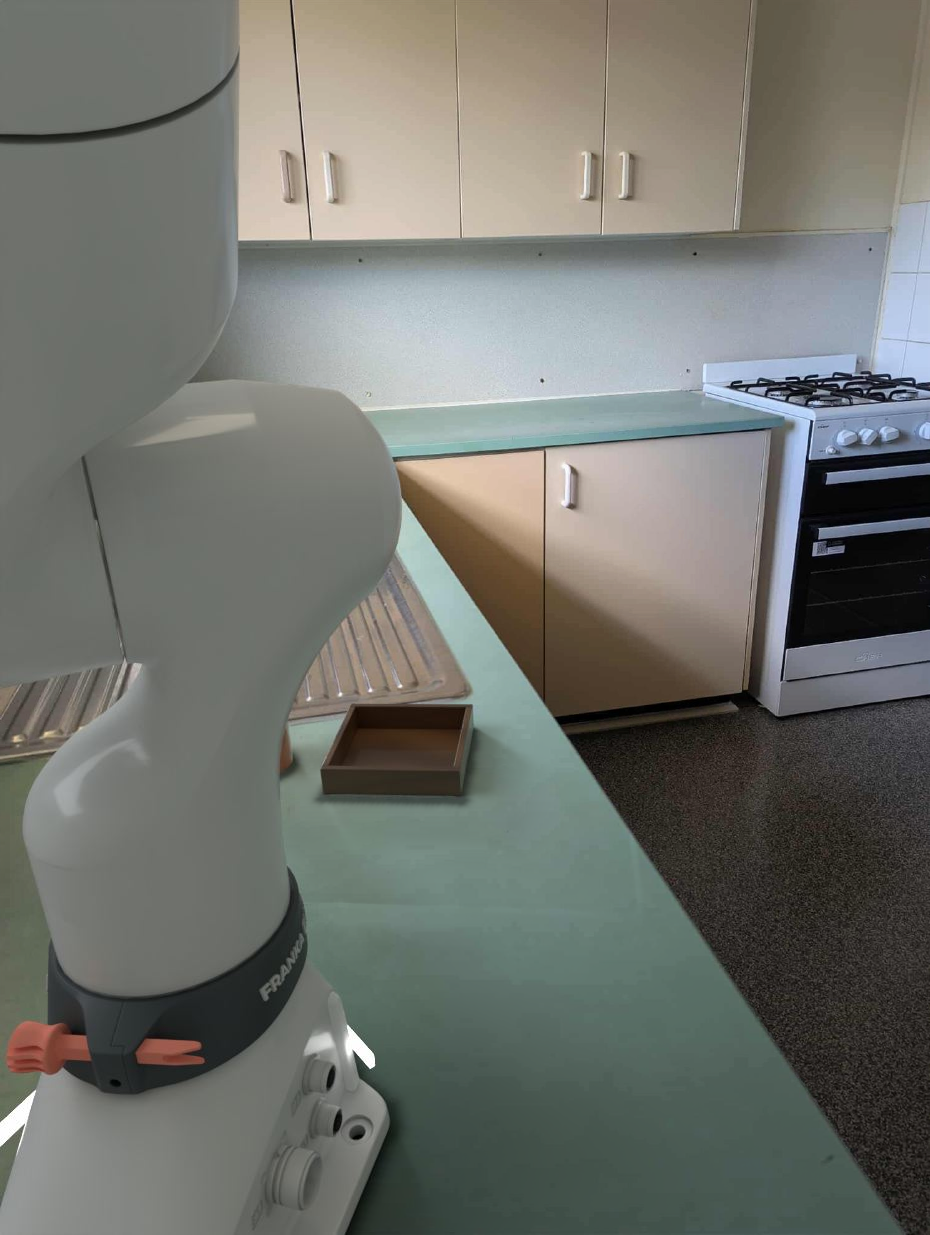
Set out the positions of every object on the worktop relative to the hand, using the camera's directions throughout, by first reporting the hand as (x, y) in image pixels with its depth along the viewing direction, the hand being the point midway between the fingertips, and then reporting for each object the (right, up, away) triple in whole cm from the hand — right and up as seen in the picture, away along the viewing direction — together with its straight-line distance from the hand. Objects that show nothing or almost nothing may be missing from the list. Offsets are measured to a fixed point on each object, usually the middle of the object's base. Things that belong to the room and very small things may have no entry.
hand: (115, 479), depth 67 cm
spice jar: (+8, -25, +16) cm, 30 cm away
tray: (+21, -24, +15) cm, 35 cm away
